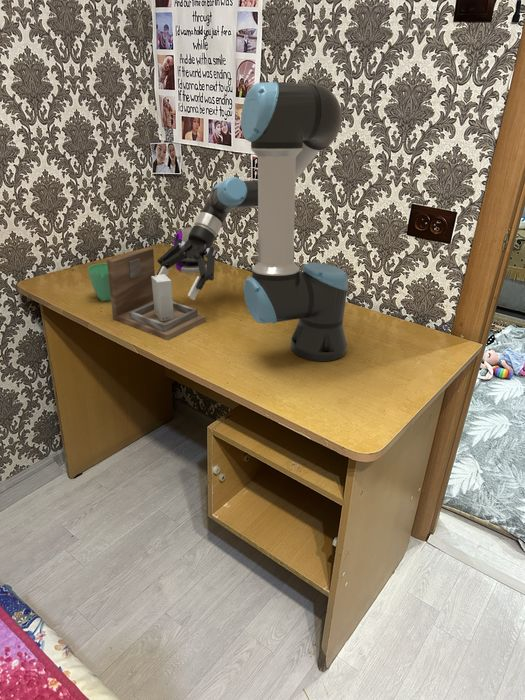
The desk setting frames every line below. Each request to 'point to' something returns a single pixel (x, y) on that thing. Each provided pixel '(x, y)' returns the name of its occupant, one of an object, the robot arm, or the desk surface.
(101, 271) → the mug
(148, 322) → the brown l-shaped piece
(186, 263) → the webcam
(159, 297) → the skincare box
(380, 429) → the desk surface
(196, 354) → the desk surface
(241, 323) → the desk surface
